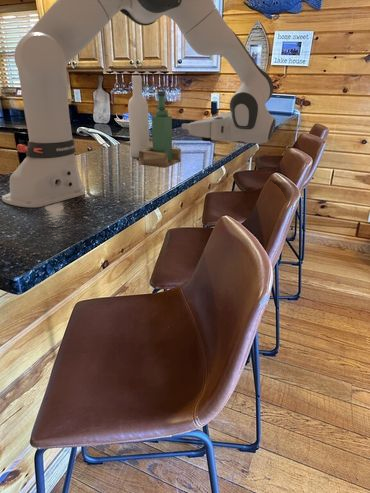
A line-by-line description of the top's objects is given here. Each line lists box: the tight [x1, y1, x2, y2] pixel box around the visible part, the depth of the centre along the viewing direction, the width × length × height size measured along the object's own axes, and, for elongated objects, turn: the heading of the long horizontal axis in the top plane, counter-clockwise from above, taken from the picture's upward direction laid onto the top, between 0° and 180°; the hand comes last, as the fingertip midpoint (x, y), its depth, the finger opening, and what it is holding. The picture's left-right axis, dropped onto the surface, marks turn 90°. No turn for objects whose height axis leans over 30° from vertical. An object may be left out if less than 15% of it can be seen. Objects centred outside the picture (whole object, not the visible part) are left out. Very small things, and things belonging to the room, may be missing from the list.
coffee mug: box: [200, 118, 215, 142], centre depth 185 cm, size 12×9×10 cm
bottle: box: [127, 75, 150, 159], centre depth 142 cm, size 8×8×30 cm
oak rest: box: [138, 146, 182, 169], centre depth 136 cm, size 12×11×5 cm
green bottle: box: [151, 90, 173, 162], centre depth 131 cm, size 5×5×24 cm
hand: (189, 124), depth 126 cm, fingers open, 8 cm apart
